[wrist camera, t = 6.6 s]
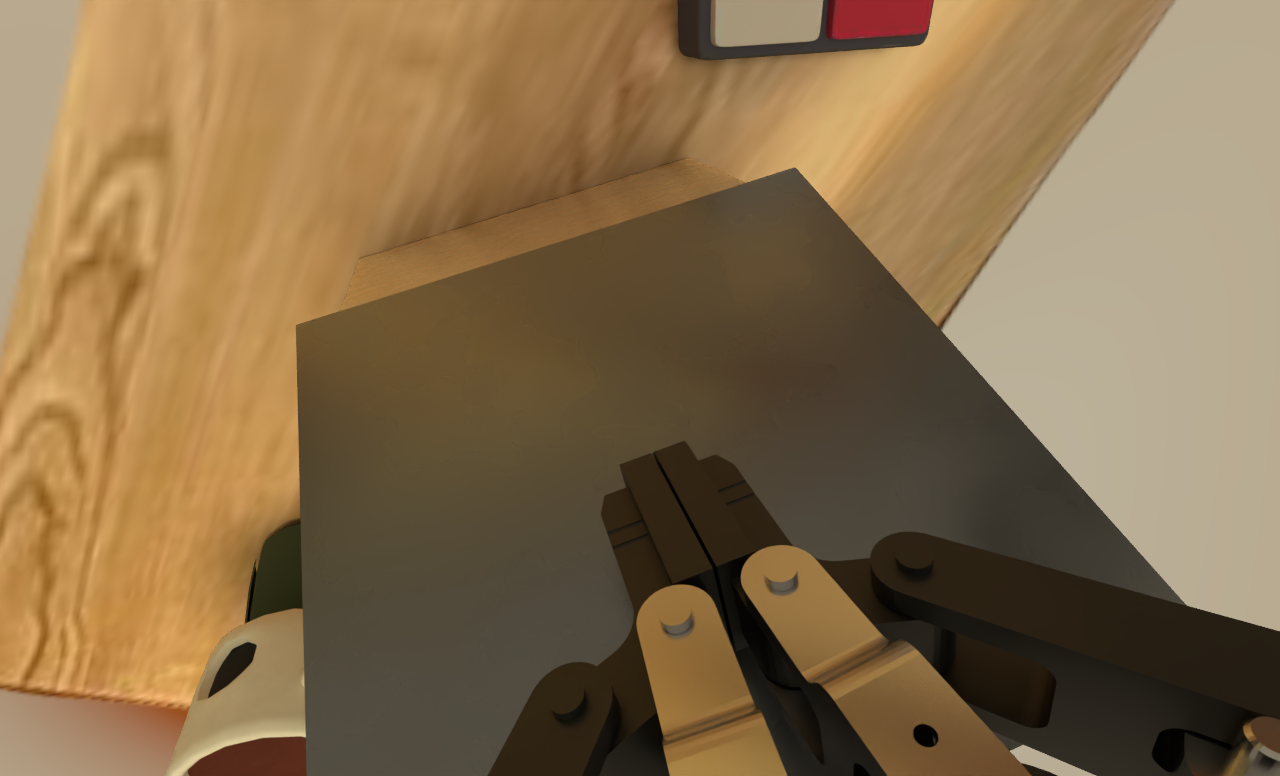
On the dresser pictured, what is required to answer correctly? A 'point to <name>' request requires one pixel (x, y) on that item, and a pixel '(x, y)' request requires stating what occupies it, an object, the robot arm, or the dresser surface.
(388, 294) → the grey storage box
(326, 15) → the dresser surface
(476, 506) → the lid
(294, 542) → the character mug
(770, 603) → the robot arm
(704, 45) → the calculator
